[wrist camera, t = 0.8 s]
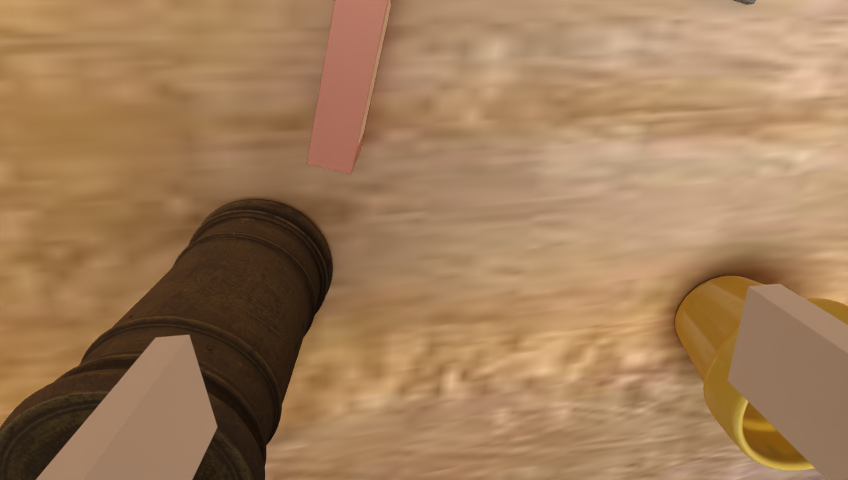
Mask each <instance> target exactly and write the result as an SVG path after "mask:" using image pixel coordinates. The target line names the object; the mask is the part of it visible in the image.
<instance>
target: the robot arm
mask: <svg viewBox="0 0 848 480" xmlns="http://www.w3.org/2000/svg"><path fill="white" fill-rule="evenodd" d="M727 381H728V382H729V383H730V384H731V385H732V386H733V387H734V388H735V389H736V390H737V391H738V392H739V393H740V394H741V395H742V396H743V397H744V398H745V399H746V400H747V401H748V402H749V403H750V404H751V405H752V406H753V407H754V408H755V409H756V410H757V411H758V412H759V413H760V414H761V415H762V416H763V417H764V418H765V419H766V420H767V421H768V422H769V423H770V424H771V425H772V426H773V427H774V428H775V429H776V430H777V431H778V432H779V433H780V434H781V435H782V436H783V437H784V438H785V439H786V440H787V441H788V442H789V443H790V444H791V445H792V446H793V447H794V448H795V449H796V450H797V451H798V452H799V453H800V454H801V455H802V456H803V457H804V458H805V459H806V460H807V461H808V462H809V463H810V464H811V465H812V466H813V467H814V468H815V469H816V470H817V471H818V472H819V473H820V474H821V475H822V476H823V477H824V478H825V479H826V480H848V325H847V324H846V323H844V322H842V321H841V320H839V319H837V318H836V317H834V316H832V315H831V314H829V313H828V312H826V311H824V310H823V309H821V308H819V307H818V306H816V305H814V304H813V303H811V302H809V301H808V300H806V299H805V298H803V297H801V296H800V295H798V294H796V293H795V292H793V291H791V290H790V289H788V288H786V287H785V286H783V285H782V284H769V285H757V286H748V290H747V294H746V299H745V303H744V308H743V312H742V317H741V321H740V326H739V330H738V335H737V340H736V344H735V349H734V353H733V358H732V362H731V367H730V371H729V376H728V380H727ZM216 429H217V424H216V420H215V417H214V414H213V411H212V407H211V404H210V401H209V397H208V394H207V391H206V388H205V384H204V381H203V378H202V375H201V371H200V368H199V365H198V361H197V358H196V355H195V352H194V348H193V345H192V342H191V338H190V335H179V336H168V337H156V338H155V339H154V340H153V341H152V343H151V344H150V345H149V346H148V347H147V348H146V350H145V351H144V352H143V353H142V354H141V356H140V357H139V358H138V359H137V360H136V362H135V363H134V364H133V365H132V366H131V367H130V369H129V370H128V371H127V372H126V373H125V375H124V376H123V377H122V378H121V379H120V381H119V382H118V383H117V384H116V385H115V386H114V388H113V389H112V390H111V391H110V392H109V394H108V395H107V396H106V397H105V398H104V399H103V401H102V402H101V403H100V404H99V405H98V407H97V408H96V409H95V410H94V411H93V413H92V414H91V415H90V416H89V417H88V418H87V420H86V421H85V422H84V423H83V424H82V426H81V427H80V428H79V429H78V430H77V432H76V433H75V434H74V435H73V436H72V437H71V439H70V440H69V441H68V442H67V443H66V445H65V446H64V447H63V448H62V449H61V450H60V452H59V453H58V454H57V455H56V456H55V458H54V459H53V460H52V461H51V462H50V464H49V465H48V466H47V467H46V468H45V469H44V471H43V472H42V473H41V474H40V475H39V477H38V478H37V479H36V480H192V479H193V477H194V475H195V473H196V471H197V469H198V467H199V465H200V463H201V460H202V458H203V456H204V454H205V452H206V450H207V448H208V446H209V444H210V442H211V440H212V437H213V435H214V433H215V431H216Z"/></svg>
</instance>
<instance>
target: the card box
mask: <svg viewBox="0 0 848 480" xmlns="http://www.w3.org/2000/svg"><path fill="white" fill-rule="evenodd" d="M392 1H393V0H335V4H334V10H333V15H332V21H331V27H330V33H329V38H328V44H327V50H326V55H325V61H324V67H323V73H322V78H321V84H320V90H319V95H318V101H317V107H316V113H315V118H314V124H313V130H312V135H311V141H310V147H309V153H308V158H307V164H309V165H313V166H318V167H322V168H326V169H330V170H334V171H338V172H342V173H346V174H351V173H352V170H353V168H354V165H355V163H356V160H357V157H358V155H359V152H360V149H361V145H362V140H363V136H364V131H365V126H366V122H367V117H368V112H369V108H370V103H371V98H372V94H373V89H374V84H375V80H376V75H377V70H378V66H379V61H380V56H381V52H382V47H383V43H384V38H385V33H386V29H387V24H388V19H389V15H390V10H391V5H392Z"/></svg>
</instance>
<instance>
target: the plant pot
mask: <svg viewBox="0 0 848 480" xmlns="http://www.w3.org/2000/svg"><path fill="white" fill-rule="evenodd" d="M757 285H765V284H762V283H759V282H756V281H754V280H751V279H748V278H745V277H741V276H721V277H717V278H714V279H711V280H708V281H706V282H704V283H702V284H701V285H699V286H697V287H696V288H695V289H694V290H692V291H691V292H690V293H689V294H688V295H687V296H686V298H685V299H684V300H683V302H682V303H681V305H680V307H679V309H678V311H677V314H676V317H675V329H676V332H677V335H678V337H679V339H680V341H681V343H682V344H683V346H684V348H685V350H686V352H687V353H688V355H689V357H690V359H691V361H692V363H693V364H694V366H695V368H696V370H697V372H698V374H699V375H700V377H701V379H702V381H703V383H704V397H705V400H706V403H707V406H708V408H709V410H710V411H711V413H712V414H713V416H714V417H715V419H716V420H717V421H718V422H719V424H720V425H721V426H722V428H723V429H724V430H725V431H726V433H727V434H728V435H729V436H730V438H731V439H732V440H733V441H734V442H735V443H736V445H737V446H738V447H739V448H740V449H741V450H742V451H743V452H744V453H745V454H746V455H747V456H748V457H750V458H751V459H752V460H754V461H756V462H758V463H760V464H762V465H764V466H767V467H770V468H774V469H779V470H792V471H795V470H808V469H814V467H813V466H812V465H811V464H810V463H809V462H808V461H807V460H806V459H805V458H804V457H803V456H802V455H801V454H800V453H799V452H798V451H797V450H796V449H795V448H794V447H793V446H792V445H791V444H790V443H789V442H788V441H787V440H786V439H785V438H784V437H783V436H782V435H781V434H780V433H779V432H778V431H777V430H776V429H775V428H774V427H773V426H772V425H771V424H770V423H769V422H768V421H767V420H766V419H765V418H764V417H763V416H762V415H761V414H760V413H759V412H758V411H757V410H756V409H755V408H754V407H753V406H752V405H751V404H750V403H749V402H748V401H747V400H746V399H745V398H744V397H743V396H742V395H741V394H740V393H739V392H738V391H737V390H736V389H735V388H734V387H733V386H732V385H731V384H730V383H729V382H728V381H727V380H728V376H729V371H730V367H731V362H732V358H733V353H734V349H735V344H736V340H737V335H738V330H739V326H740V321H741V317H742V312H743V308H744V303H745V299H746V294H747V290H748V286H757ZM806 300H808V301H809V302H811V303H813V304H814V305H816V306H818V307H819V308H821V309H823V310H824V311H826V312H828V313H829V314H831V315H832V316H834V317H836V318H837V319H839V320H841V321H842V322H844V323H846V324H847V325H848V306H846V305H844V304H842V303H839V302H836V301H832V300H827V299H817V298H810V299H806Z"/></svg>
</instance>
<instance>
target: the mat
mask: <svg viewBox="0 0 848 480" xmlns="http://www.w3.org/2000/svg"><path fill="white" fill-rule="evenodd" d="M735 1H738V2H741V3H744V4H754V3H755V1H756V0H735Z"/></svg>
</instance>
